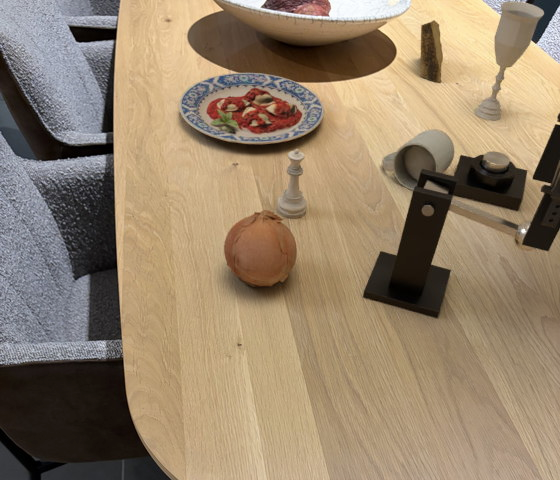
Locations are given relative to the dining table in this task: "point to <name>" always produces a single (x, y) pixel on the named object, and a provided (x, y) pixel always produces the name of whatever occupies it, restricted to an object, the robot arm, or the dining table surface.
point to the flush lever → (485, 217)
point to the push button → (495, 162)
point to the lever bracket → (416, 253)
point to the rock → (431, 51)
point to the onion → (260, 249)
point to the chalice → (509, 47)
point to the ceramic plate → (251, 108)
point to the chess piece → (293, 189)
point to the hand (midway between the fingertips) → (539, 211)
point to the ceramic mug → (420, 157)
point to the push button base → (490, 183)
